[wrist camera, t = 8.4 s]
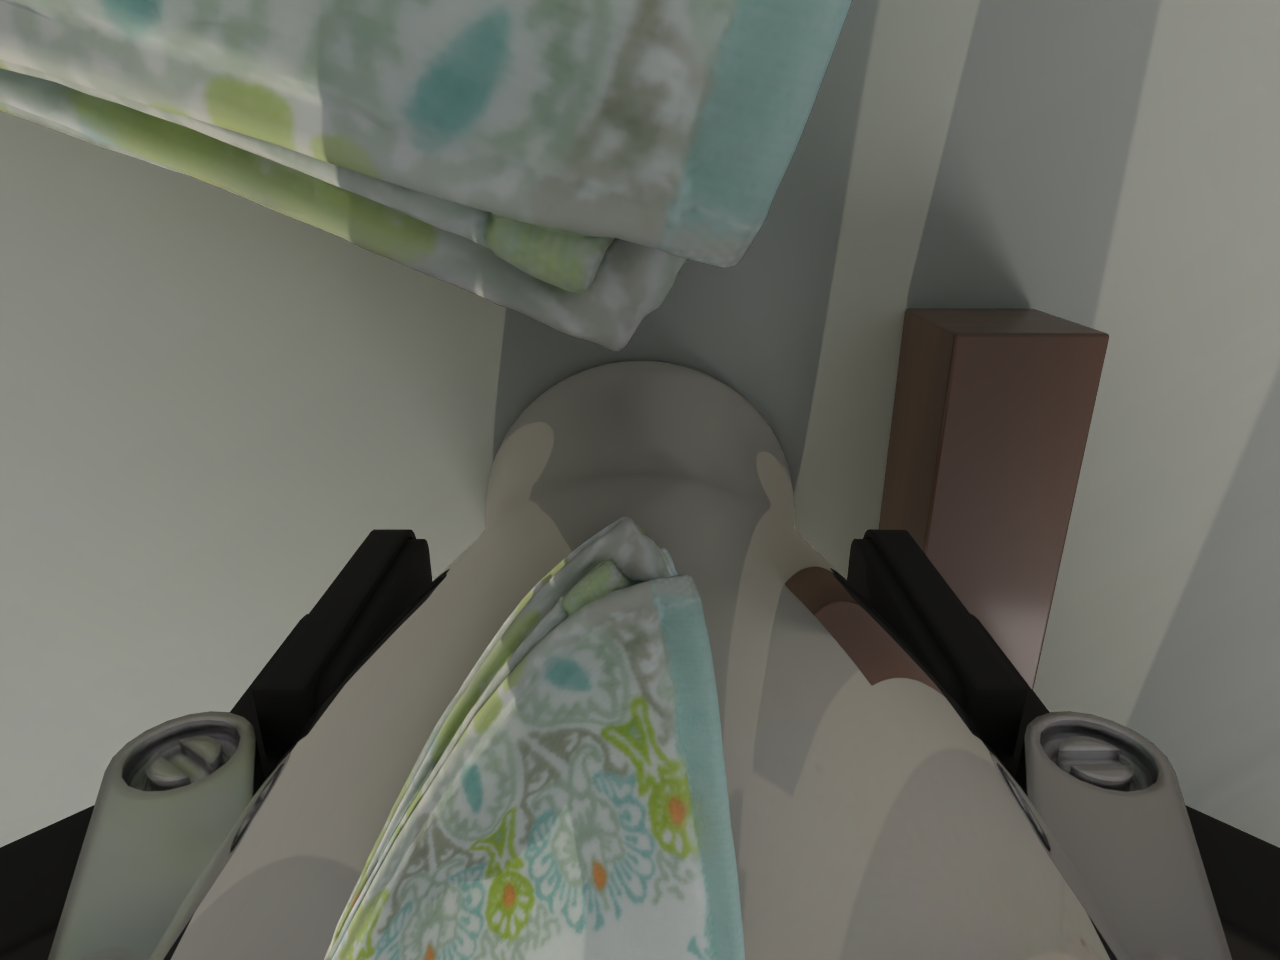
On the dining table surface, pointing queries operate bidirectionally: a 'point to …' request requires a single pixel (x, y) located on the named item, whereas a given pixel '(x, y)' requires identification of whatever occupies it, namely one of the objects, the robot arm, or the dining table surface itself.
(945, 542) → the rail
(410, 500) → the dining table surface
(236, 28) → the towel
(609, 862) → the beer glass
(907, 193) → the dining table surface
